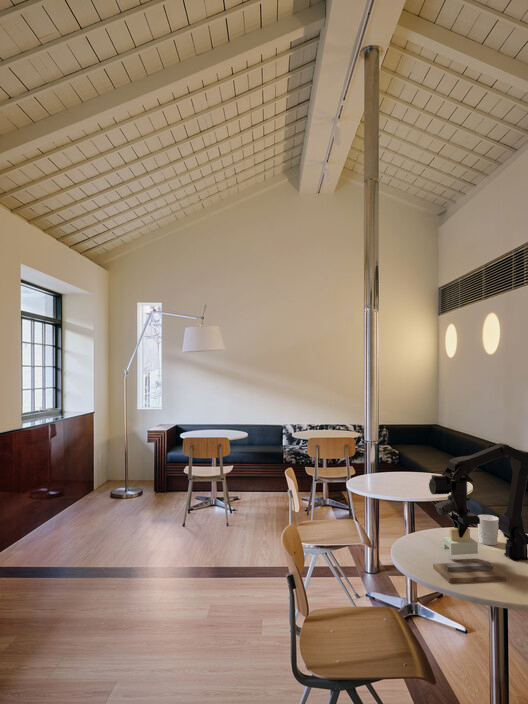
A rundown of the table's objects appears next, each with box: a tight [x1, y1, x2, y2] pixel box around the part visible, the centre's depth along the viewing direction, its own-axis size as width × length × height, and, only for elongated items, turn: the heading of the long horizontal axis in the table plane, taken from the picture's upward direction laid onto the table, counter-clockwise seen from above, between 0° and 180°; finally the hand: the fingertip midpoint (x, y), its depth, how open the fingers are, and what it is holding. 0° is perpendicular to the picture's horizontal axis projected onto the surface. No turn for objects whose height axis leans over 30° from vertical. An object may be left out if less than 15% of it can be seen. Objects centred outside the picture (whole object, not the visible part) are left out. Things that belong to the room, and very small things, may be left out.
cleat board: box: [432, 561, 508, 584], centre depth 169 cm, size 20×12×3 cm, turn 95°
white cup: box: [477, 514, 499, 546], centre depth 199 cm, size 8×8×10 cm
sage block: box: [441, 527, 479, 556], centre depth 181 cm, size 10×7×8 cm
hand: (459, 536), depth 181 cm, fingers closed on sage block
